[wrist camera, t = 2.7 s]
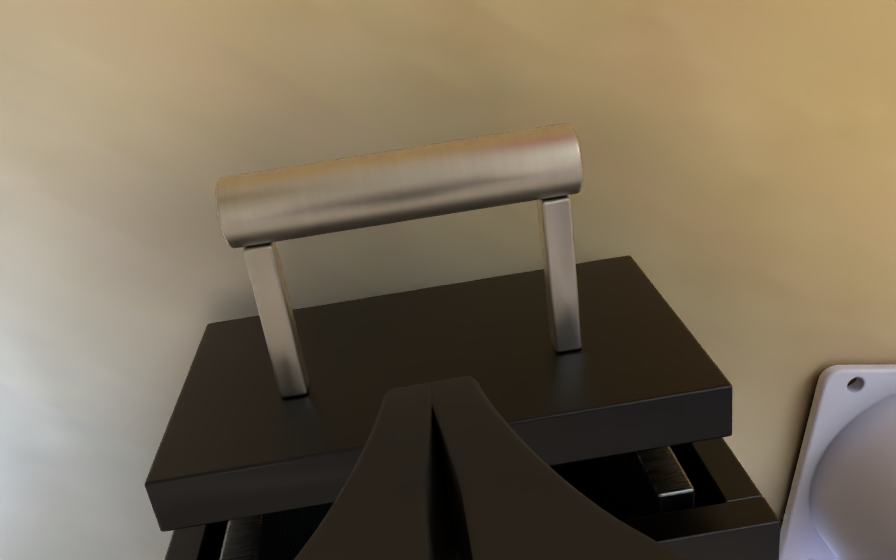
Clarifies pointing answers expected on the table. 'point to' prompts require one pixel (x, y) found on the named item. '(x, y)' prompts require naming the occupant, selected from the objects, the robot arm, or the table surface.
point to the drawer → (429, 349)
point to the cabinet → (686, 531)
